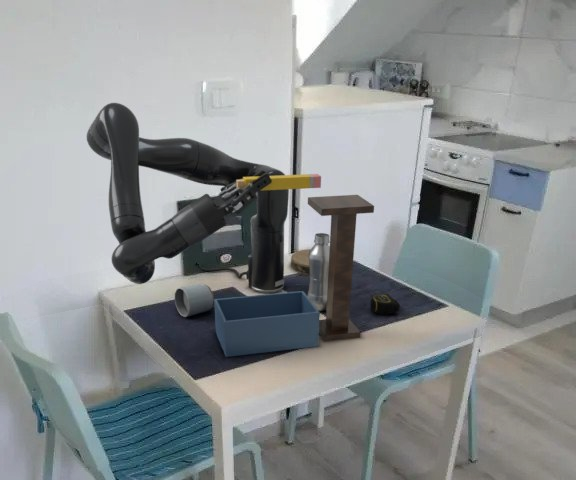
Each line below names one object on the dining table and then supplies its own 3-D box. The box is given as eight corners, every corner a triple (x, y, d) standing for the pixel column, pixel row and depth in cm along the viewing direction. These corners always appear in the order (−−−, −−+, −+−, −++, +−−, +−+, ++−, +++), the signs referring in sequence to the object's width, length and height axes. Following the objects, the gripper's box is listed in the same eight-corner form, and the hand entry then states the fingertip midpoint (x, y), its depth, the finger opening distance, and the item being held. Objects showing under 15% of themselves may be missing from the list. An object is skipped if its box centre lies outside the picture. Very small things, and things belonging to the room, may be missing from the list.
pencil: (238, 191, 128) (238, 179, 127) (236, 188, 130) (235, 177, 129) (320, 187, 132) (321, 176, 131) (317, 185, 134) (317, 173, 133)
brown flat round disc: (348, 262, 196) (348, 253, 195) (333, 278, 184) (333, 269, 182) (301, 255, 201) (301, 246, 200) (283, 271, 188) (283, 261, 187)
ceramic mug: (217, 313, 161) (215, 285, 157) (190, 321, 156) (187, 292, 153) (195, 301, 168) (193, 274, 164) (168, 308, 164) (166, 281, 160)
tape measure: (400, 315, 162) (401, 301, 160) (376, 317, 160) (377, 304, 158) (388, 305, 168) (390, 292, 166) (365, 307, 166) (366, 294, 164)
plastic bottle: (324, 315, 161) (327, 240, 151) (301, 309, 164) (304, 236, 154) (335, 307, 166) (340, 234, 155) (313, 301, 169) (316, 229, 158)
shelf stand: (315, 343, 147) (321, 208, 131) (303, 326, 155) (307, 197, 139) (362, 338, 150) (374, 205, 134) (348, 321, 158) (357, 194, 142)
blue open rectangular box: (225, 357, 141) (224, 322, 136) (215, 332, 151) (214, 299, 147) (318, 346, 146) (319, 312, 141) (302, 323, 157) (303, 290, 152)
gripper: (193, 214, 122) (267, 166, 121) (184, 197, 134) (251, 153, 133) (213, 245, 126) (285, 199, 126) (203, 226, 138) (268, 183, 137)
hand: (267, 175), depth 129 cm, fingers closed on pencil, 2 cm apart
